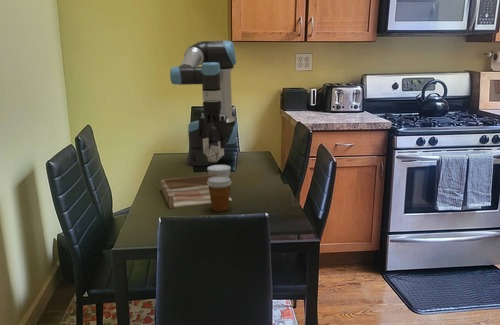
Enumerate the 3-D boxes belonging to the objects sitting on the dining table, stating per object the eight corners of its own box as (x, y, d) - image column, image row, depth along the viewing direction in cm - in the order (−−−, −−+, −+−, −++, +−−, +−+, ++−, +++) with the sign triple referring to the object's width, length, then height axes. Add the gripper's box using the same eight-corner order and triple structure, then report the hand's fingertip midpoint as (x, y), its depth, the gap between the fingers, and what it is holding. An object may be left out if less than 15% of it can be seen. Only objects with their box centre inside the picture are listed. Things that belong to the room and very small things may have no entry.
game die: (212, 172, 193) (202, 157, 186) (206, 161, 199) (196, 146, 192) (230, 161, 193) (221, 145, 186) (224, 150, 199) (214, 135, 192)
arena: (161, 190, 201) (160, 179, 200) (216, 184, 209) (216, 174, 208) (170, 208, 179) (169, 196, 177) (232, 200, 187) (231, 189, 185)
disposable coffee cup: (203, 209, 177) (201, 180, 174) (218, 202, 184) (217, 174, 181) (222, 214, 172) (221, 184, 169) (237, 207, 179) (236, 177, 176)
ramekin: (203, 177, 221) (202, 167, 219) (221, 173, 228) (221, 163, 226) (216, 182, 212) (216, 171, 211) (235, 178, 219) (235, 167, 218)
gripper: (187, 100, 190) (189, 153, 196) (225, 103, 178) (226, 159, 184) (199, 98, 196) (201, 149, 201) (237, 101, 184) (238, 155, 190)
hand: (213, 154), depth 193 cm, fingers closed on game die, 8 cm apart
